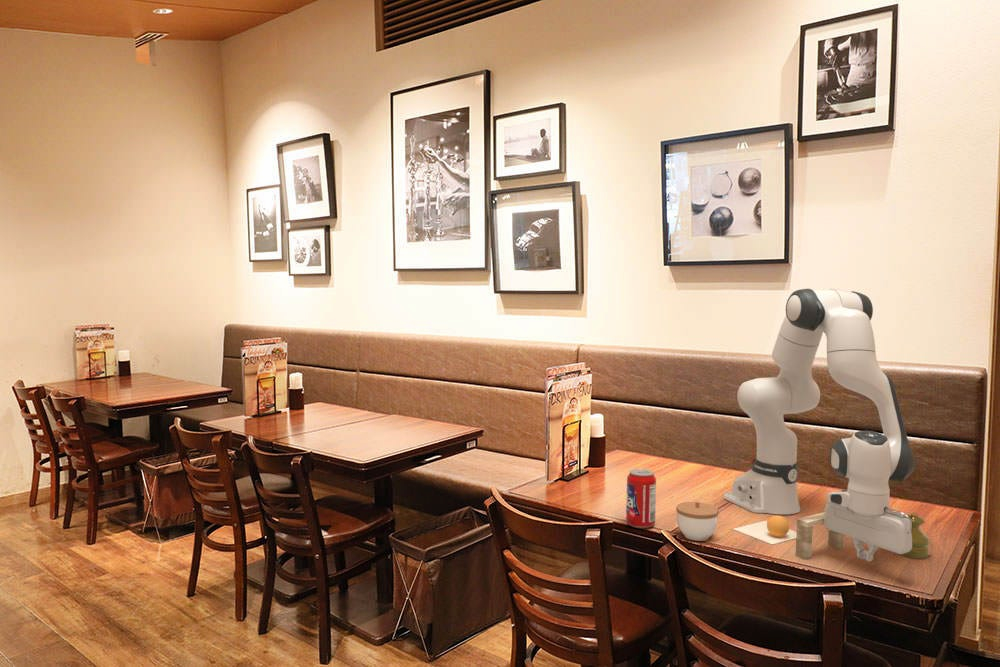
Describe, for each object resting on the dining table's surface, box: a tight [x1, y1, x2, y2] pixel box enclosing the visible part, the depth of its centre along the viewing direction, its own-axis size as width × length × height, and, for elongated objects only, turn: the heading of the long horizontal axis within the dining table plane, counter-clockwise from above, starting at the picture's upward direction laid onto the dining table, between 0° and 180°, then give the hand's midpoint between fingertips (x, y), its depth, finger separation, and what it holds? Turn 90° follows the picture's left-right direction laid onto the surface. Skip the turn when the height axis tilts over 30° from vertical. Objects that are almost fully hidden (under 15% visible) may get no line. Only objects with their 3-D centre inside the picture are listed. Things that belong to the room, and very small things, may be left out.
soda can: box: [625, 468, 657, 529], centre depth 200 cm, size 8×8×15 cm
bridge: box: [795, 512, 845, 561], centre depth 181 cm, size 3×14×9 cm, turn 120°
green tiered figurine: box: [899, 513, 931, 560], centre depth 180 cm, size 7×7×10 cm
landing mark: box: [732, 520, 797, 546], centre depth 195 cm, size 13×13×1 cm
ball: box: [767, 515, 790, 537], centre depth 192 cm, size 6×6×6 cm
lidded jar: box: [675, 500, 719, 542], centre depth 191 cm, size 11×11×9 cm
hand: (864, 559), depth 171 cm, fingers closed
